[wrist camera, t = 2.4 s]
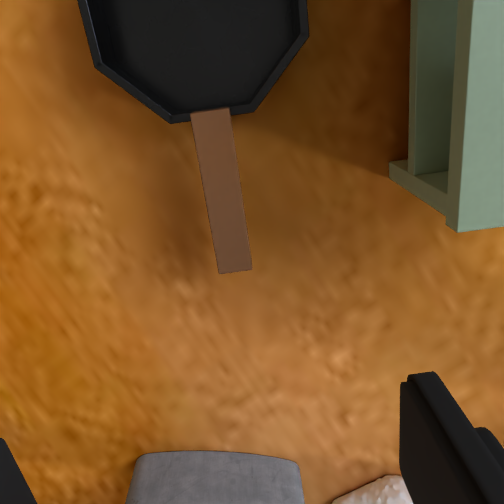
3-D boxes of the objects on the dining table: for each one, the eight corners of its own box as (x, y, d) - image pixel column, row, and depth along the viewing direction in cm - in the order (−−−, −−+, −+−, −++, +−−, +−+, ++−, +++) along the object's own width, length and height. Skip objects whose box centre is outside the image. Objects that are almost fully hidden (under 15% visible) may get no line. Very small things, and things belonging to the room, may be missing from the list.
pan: (287, -132, 22) (299, -183, 18) (315, 234, 31) (328, 260, 27) (71, -99, 23) (31, -140, 18) (157, 255, 31) (144, 284, 27)
